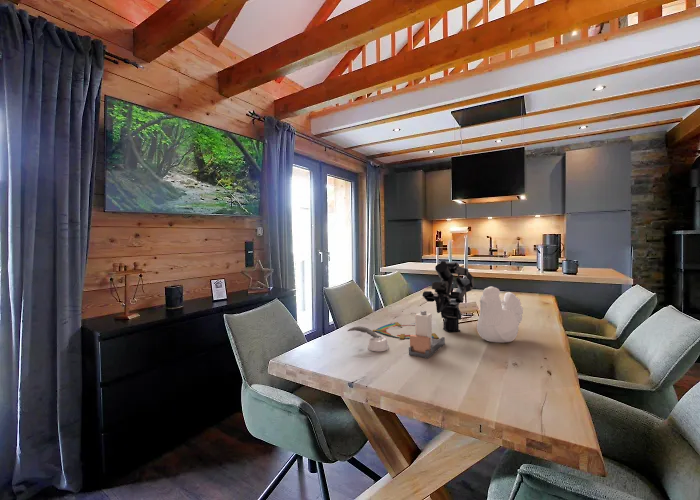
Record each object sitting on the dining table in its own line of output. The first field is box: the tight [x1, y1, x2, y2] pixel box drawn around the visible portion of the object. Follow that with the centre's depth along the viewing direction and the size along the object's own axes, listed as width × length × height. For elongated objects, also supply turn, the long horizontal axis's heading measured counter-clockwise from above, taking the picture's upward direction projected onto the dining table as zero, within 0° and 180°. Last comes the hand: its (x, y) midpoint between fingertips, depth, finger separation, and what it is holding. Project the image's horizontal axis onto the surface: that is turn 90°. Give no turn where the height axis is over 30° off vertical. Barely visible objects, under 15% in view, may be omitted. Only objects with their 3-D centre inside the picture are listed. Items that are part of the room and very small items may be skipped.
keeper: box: [414, 310, 433, 346], centre depth 134 cm, size 5×5×15 cm
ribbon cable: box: [372, 321, 440, 340], centre depth 166 cm, size 29×1×30 cm
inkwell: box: [347, 326, 390, 353], centre depth 140 cm, size 9×18×10 cm, turn 101°
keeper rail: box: [408, 334, 446, 359], centre depth 138 cm, size 20×8×8 cm, turn 145°
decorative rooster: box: [476, 286, 524, 343], centre depth 146 cm, size 25×16×25 cm, turn 103°
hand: (438, 312), depth 150 cm, fingers closed
